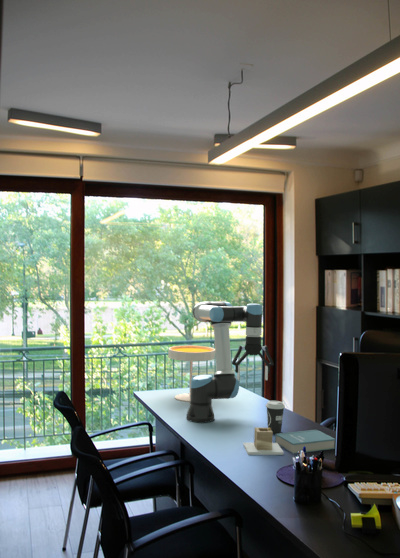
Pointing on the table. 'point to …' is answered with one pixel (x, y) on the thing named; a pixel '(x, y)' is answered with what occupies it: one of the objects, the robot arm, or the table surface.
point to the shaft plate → (253, 451)
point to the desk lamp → (190, 355)
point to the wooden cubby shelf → (263, 438)
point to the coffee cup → (275, 415)
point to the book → (305, 441)
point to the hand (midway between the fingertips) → (252, 379)
